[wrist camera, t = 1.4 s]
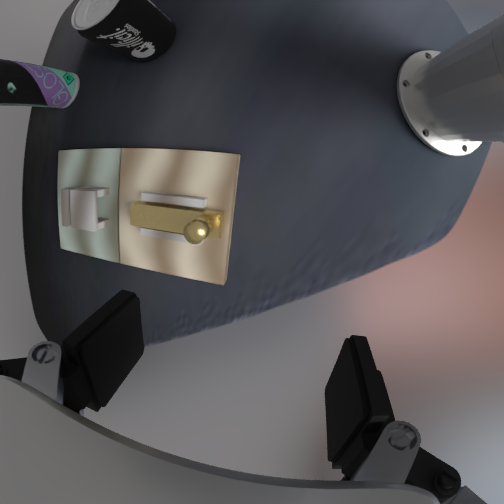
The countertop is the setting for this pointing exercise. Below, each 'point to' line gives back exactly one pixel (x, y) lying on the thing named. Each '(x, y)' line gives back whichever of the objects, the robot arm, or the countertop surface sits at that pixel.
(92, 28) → the beverage can
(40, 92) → the spray can
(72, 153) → the latch board
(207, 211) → the bolt
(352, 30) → the countertop surface
